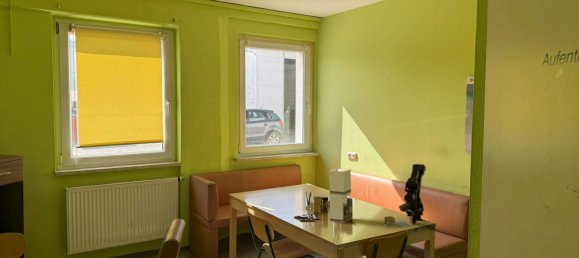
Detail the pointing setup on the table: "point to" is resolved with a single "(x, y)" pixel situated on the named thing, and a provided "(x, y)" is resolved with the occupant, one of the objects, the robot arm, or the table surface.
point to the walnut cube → (389, 221)
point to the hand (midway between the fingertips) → (411, 223)
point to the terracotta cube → (410, 220)
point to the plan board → (397, 224)
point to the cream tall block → (339, 194)
